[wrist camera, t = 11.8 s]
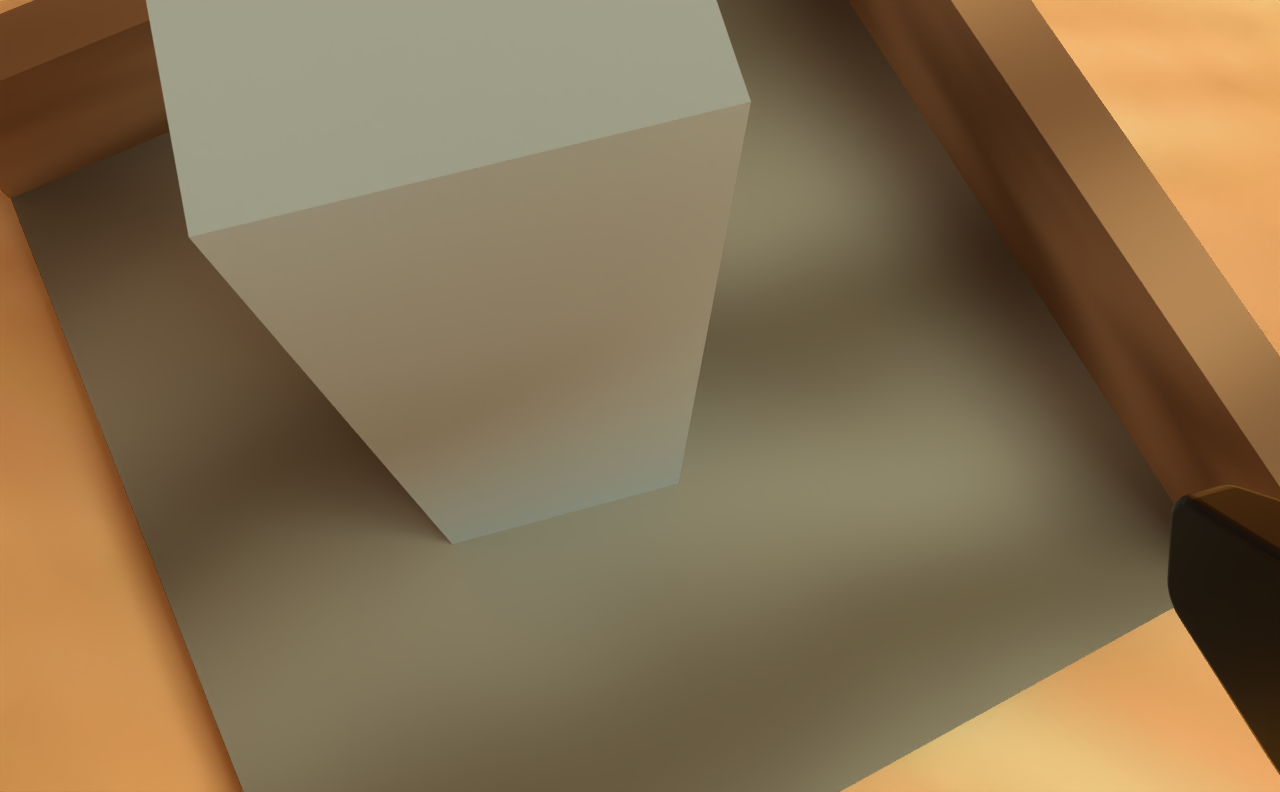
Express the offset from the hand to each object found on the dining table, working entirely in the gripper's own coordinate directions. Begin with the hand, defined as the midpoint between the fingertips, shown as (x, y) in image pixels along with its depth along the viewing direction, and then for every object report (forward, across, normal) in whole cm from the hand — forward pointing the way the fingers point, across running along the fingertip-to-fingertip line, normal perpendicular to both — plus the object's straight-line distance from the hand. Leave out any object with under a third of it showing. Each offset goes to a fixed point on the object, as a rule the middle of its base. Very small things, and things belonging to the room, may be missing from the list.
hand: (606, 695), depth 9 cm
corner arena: (+12, -1, +4) cm, 13 cm away
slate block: (+12, 0, +4) cm, 12 cm away
